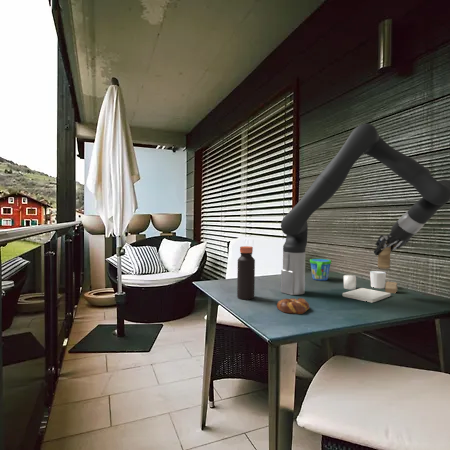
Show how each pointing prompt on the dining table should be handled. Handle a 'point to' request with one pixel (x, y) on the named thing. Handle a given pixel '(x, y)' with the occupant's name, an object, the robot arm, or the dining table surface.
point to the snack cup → (320, 269)
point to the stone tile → (366, 295)
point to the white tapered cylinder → (377, 279)
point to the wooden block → (391, 287)
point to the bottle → (246, 274)
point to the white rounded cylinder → (349, 282)
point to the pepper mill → (384, 258)
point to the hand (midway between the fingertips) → (380, 253)
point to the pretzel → (293, 305)
